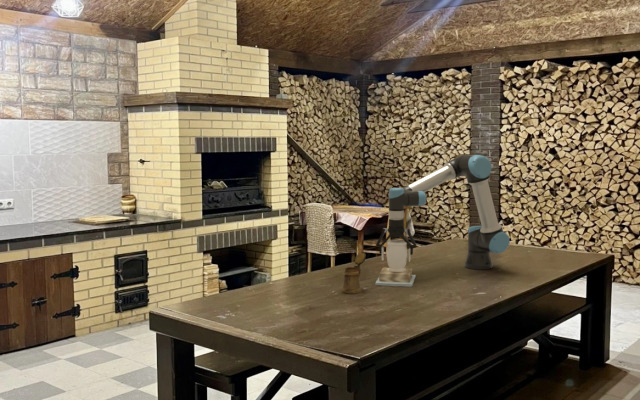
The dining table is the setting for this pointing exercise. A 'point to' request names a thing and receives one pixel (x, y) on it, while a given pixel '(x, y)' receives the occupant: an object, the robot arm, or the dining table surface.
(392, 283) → the board
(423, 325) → the dining table surface
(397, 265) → the jar
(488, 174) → the robot arm
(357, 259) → the wooden mug
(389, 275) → the tan flat block
